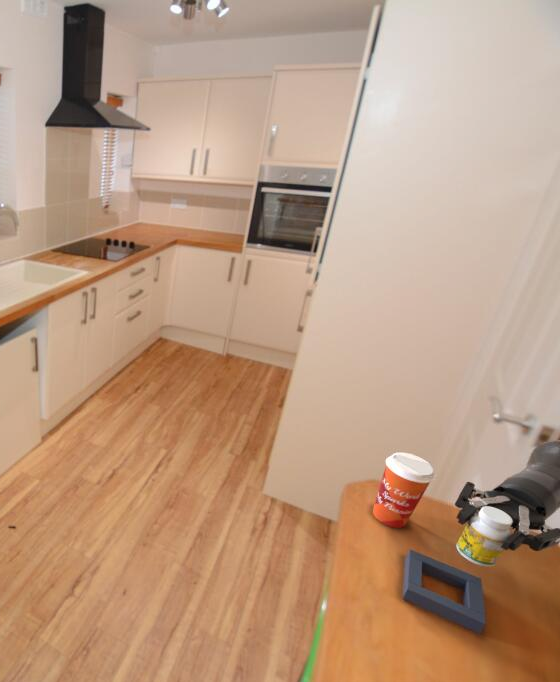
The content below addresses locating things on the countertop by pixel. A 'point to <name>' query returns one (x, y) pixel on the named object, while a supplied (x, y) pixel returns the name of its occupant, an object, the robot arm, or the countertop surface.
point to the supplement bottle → (485, 536)
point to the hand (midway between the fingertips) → (483, 531)
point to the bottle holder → (463, 615)
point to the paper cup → (402, 488)
